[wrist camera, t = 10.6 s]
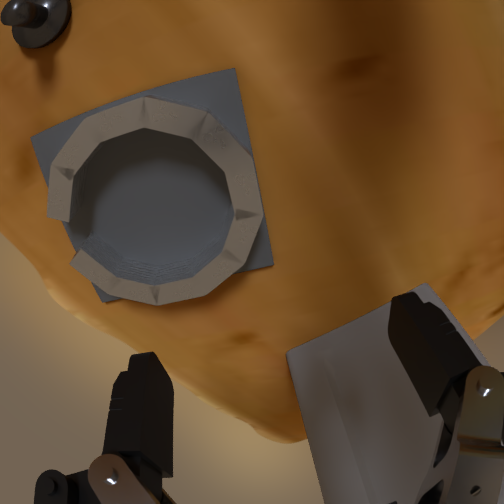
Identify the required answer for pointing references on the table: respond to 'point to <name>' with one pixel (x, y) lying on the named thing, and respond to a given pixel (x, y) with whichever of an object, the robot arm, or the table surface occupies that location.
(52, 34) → the peg stand
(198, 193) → the rubber mat
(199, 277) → the steel ring
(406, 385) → the tall grey upright block
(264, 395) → the table surface
